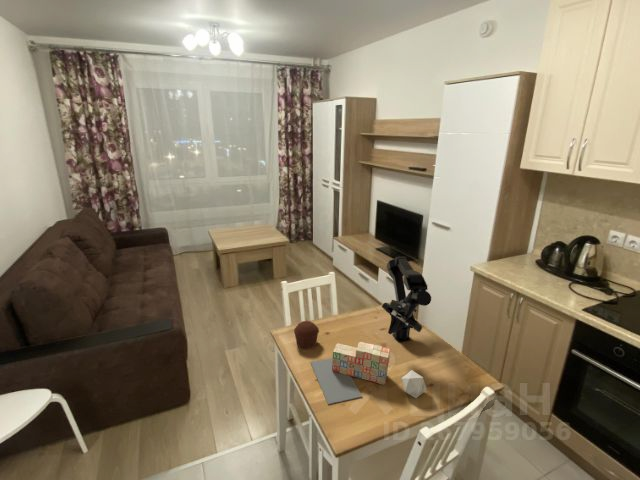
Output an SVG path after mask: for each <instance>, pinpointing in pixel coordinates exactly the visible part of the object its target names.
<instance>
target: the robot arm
mask: <svg viewBox="0 0 640 480" xmlns="http://www.w3.org/2000/svg"><path fill="white" fill-rule="evenodd" d="M386 270H387V271H388V275H389V276H390V277H391V279H392V281H393V288H394V292H395V299H396V300H395V299H391V301H390V303H388V302H383V304H382V305H381V306H380V307H381V308H382V309H383V310H384V311H385V312H386V313H388V314H389V315H390V319H391V320H390V325H389V328H388V332H387V333H388V334H389V335H392V336H393V338H395V340H396V341H397V342H398V343H402V342H408V341H411V340H412V338H411V337H410V333H411V332H410V331H411V329H413V330H414V331H416V332H418V333H421V331H422V329H423V325H422V324H421V323H420V322H419V321H418V320H416V319H415V316H414V313H416V312H417V311H418V310H417V307H419V306H424V307H425V306H426V307H427V306H428V305H429V304H430V303H432V302H431V301H432V296H431V294H430V293H429V292H428V289H429V288H428V284H427V281H426V279H425V278H424V276H423V275H422V273H421V272H420V271H417V270H414V267H412V266H411V264H410V262H409V261H408V259H407V257H406V256H396V257H395V258H393V259H391V260H389V261H388V262H386ZM405 288H406V289H405ZM406 290H407V291H409V293H406ZM406 294H407V295H406Z"/></svg>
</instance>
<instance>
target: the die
mask: <svg viewBox="0 0 640 480" xmlns="http://www.w3.org/2000/svg"><path fill="white" fill-rule="evenodd" d="M400 379H401V383H402V385H403V389H404V393H407V394H408V395H409V396H411V397H412V398H415V399H417V398H418V397H420V396H421V395H422V394H423V393H424V392H426V391H427V390H428V389H427V386H426V383H425V380H424V377H423V376H422V375H420V374H418V373H417V372H415V371H414V370H413V369H411V370H410V371H408V372H407V373H406V374H405V375H403V376H402V377H400Z"/></svg>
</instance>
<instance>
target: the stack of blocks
mask: <svg viewBox="0 0 640 480" xmlns="http://www.w3.org/2000/svg"><path fill="white" fill-rule="evenodd" d="M390 354H391V348H388V347H384V346H381V345H377V344H373V343H366V342H363V341H358V344H357V346H356V347H354V346H351V345H347V344H343V343H336V345H335V346H334V349H333V351H332V358H333V361H332V371H335V372H339V373H342V374H347V375H350V376H351V377H355V378H358V379H362V380H366V381H369V382H371V383H372V382H373V383H375V384H376V383H377V384H379V385H383V386H385V385H386V381H387V377H388V370H389V369H388V368H389V363H390Z"/></svg>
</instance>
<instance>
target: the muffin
mask: <svg viewBox="0 0 640 480" xmlns="http://www.w3.org/2000/svg"><path fill="white" fill-rule="evenodd" d="M293 331H294V332H293V333H294V337H295V340H296V341H295V342H296V344H297V346H298V347H299V348H301V349H312V348H314V347H315V346H316V344H317V342H318V335H319V333H320V330H319V327H318V326H317V325H316V324H315V323H314V322H312V321H309V320H304V321H301V322H299V323H298V324H297V325H296V326H295V328H294V330H293Z"/></svg>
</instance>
